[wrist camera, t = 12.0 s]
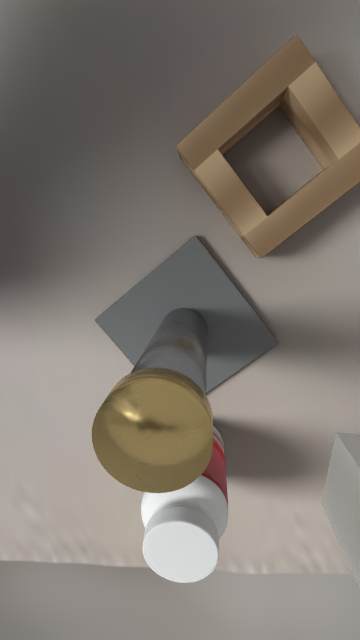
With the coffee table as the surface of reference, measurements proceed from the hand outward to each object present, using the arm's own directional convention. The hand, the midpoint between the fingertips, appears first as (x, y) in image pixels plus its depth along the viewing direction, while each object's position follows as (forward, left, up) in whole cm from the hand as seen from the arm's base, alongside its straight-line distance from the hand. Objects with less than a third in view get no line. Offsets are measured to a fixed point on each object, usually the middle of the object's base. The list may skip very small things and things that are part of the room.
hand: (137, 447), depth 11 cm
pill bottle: (+9, -6, -17) cm, 21 cm away
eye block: (-6, +13, -17) cm, 22 cm away
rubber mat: (0, 0, -17) cm, 17 cm away
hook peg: (0, 0, -17) cm, 17 cm away
